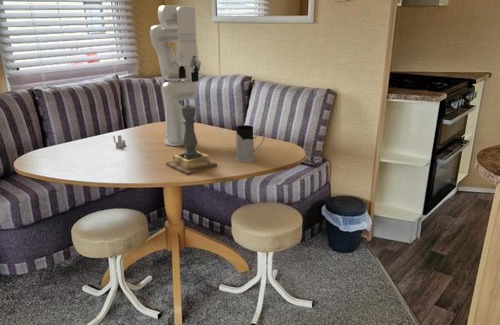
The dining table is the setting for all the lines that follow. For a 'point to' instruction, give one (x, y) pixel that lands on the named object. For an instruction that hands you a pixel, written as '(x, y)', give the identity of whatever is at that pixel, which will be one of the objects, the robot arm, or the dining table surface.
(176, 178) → the dining table surface
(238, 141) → the grey and black mug
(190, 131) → the candle holder
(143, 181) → the dining table surface
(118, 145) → the architectural model
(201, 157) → the socket base
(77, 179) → the dining table surface
